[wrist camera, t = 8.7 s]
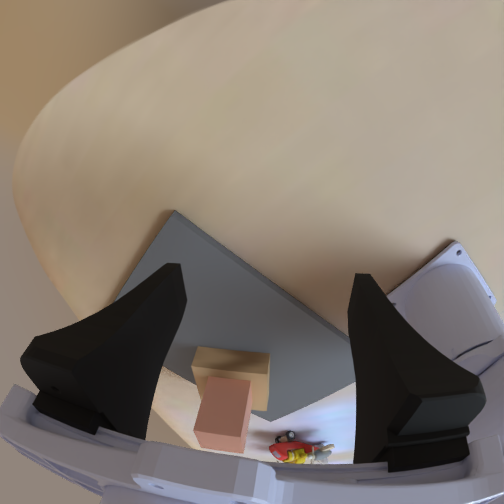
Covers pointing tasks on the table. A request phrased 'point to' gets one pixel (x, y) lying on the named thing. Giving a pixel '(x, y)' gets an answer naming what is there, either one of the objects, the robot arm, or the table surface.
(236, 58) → the table surface
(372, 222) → the table surface
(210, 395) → the pillar
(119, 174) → the table surface
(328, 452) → the toy airplane
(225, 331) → the board
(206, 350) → the slab
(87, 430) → the robot arm
